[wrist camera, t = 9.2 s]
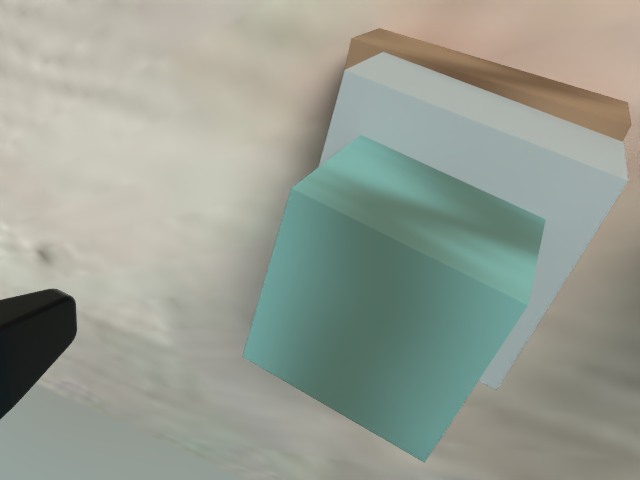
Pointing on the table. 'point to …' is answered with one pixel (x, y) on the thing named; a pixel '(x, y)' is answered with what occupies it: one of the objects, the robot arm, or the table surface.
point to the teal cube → (392, 291)
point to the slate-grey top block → (489, 162)
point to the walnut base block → (501, 81)
